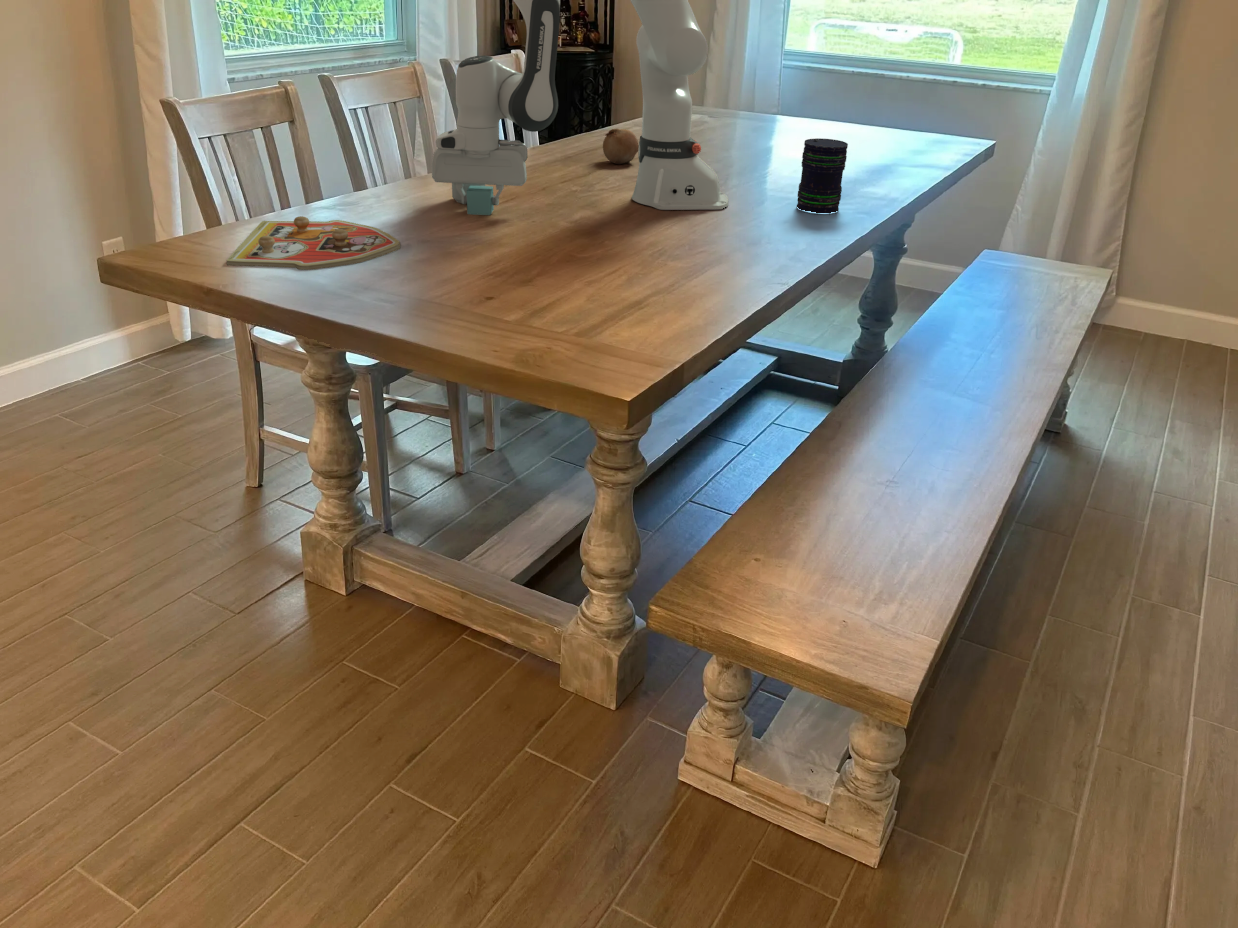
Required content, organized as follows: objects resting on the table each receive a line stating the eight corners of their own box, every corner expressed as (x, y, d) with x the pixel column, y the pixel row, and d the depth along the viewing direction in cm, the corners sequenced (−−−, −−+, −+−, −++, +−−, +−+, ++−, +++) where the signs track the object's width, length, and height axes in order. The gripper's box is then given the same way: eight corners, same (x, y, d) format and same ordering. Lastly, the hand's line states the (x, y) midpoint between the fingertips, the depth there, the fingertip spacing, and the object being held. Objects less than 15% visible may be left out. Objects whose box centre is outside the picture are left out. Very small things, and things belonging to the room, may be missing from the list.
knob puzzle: (263, 226, 204) (260, 205, 202) (409, 229, 206) (408, 207, 204) (223, 272, 179) (219, 247, 177) (390, 274, 181) (388, 250, 179)
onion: (608, 176, 266) (593, 142, 260) (614, 159, 272) (600, 125, 266) (641, 166, 262) (626, 131, 256) (646, 149, 269) (632, 115, 263)
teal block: (493, 209, 221) (493, 186, 218) (490, 215, 216) (489, 192, 214) (471, 208, 221) (470, 185, 218) (467, 214, 216) (466, 191, 214)
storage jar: (847, 210, 231) (857, 143, 224) (823, 217, 225) (833, 149, 217) (811, 201, 237) (819, 136, 230) (787, 208, 231) (795, 141, 223)
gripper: (529, 138, 214) (529, 202, 220) (433, 133, 214) (437, 198, 220) (525, 143, 208) (526, 209, 215) (428, 139, 208) (431, 205, 215)
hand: (480, 204), depth 218 cm, fingers closed on teal block, 5 cm apart
